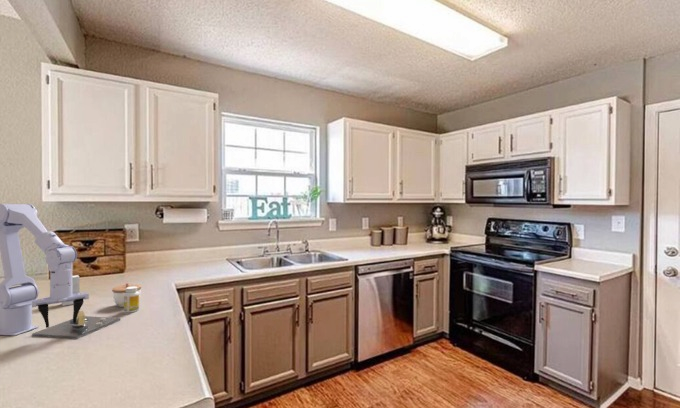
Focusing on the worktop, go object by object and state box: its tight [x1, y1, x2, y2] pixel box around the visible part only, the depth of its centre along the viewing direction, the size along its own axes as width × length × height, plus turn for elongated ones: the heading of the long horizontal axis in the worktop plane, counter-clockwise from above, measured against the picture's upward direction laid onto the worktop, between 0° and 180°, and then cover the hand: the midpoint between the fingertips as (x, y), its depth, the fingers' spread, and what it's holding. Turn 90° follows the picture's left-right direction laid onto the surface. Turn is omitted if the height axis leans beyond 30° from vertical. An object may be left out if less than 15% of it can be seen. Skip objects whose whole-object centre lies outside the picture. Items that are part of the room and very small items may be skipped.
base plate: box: [31, 315, 121, 340], centre depth 120 cm, size 17×18×2 cm
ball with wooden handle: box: [69, 310, 88, 326], centre depth 118 cm, size 11×5×4 cm, turn 43°
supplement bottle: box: [123, 286, 140, 314], centre depth 139 cm, size 5×5×10 cm
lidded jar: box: [111, 283, 142, 308], centre depth 147 cm, size 11×11×9 cm
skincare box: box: [61, 274, 81, 307], centre depth 149 cm, size 6×4×12 cm
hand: (61, 324), depth 112 cm, fingers open, 6 cm apart
